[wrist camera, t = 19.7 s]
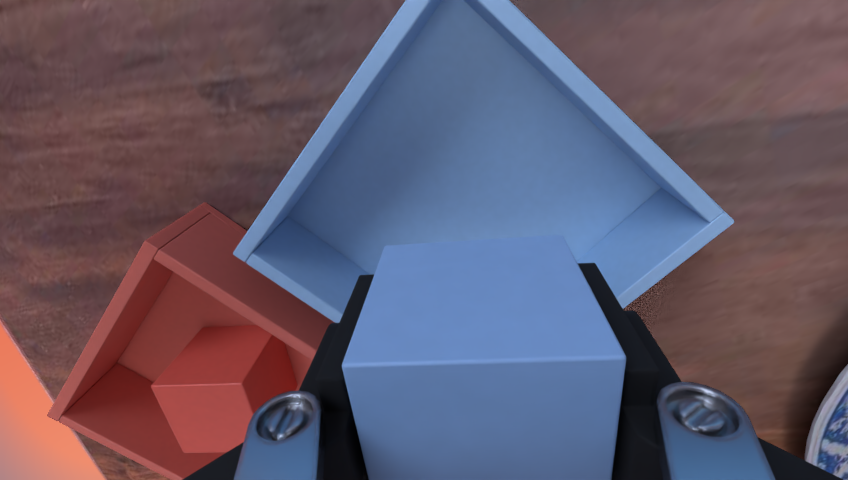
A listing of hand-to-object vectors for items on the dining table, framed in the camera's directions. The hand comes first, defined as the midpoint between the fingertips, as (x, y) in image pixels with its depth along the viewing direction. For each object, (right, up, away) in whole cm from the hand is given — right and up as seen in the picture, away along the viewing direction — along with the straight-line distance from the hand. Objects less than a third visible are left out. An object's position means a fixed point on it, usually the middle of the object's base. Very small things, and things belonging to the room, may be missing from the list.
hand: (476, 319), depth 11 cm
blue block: (0, 0, 0) cm, 0 cm away
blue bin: (0, +4, +9) cm, 9 cm away
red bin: (-11, -4, +14) cm, 18 cm away
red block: (-11, -5, +13) cm, 18 cm away
